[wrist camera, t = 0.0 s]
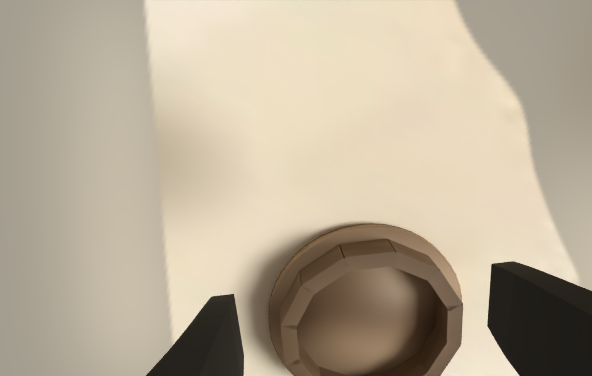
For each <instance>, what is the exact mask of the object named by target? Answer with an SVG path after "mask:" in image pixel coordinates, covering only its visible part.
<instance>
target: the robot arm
mask: <svg viewBox="0 0 592 376" xmlns="http://www.w3.org/2000/svg"><path fill="white" fill-rule="evenodd" d="M487 326H488V328H489V329H490V331H491V333H492V335H493V336H494V338H495V340H496V342H497V344H498V345H499V347H500V348H501V350H502V352H503V353H504V355H505V356H506V358H507V359H508V361H509V362H510V363H511V365H512V366H513V367H514V369H515V370H516V371H517V373H518V374H519V375H520V376H592V291H590V290H587V289H585V288H583V287H580V286H577V285H575V284H573V283H570V282H568V281H565V280H563V279H560V278H558V277H555V276H553V275H550V274H548V273H545V272H542V271H540V270H537V269H535V268H532V267H529V266H526V265H523V264H520V263H517V262H504V263H495V264H492V266H491V281H490V296H489V310H488V325H487ZM243 374H244V353H243V347H242V341H241V335H240V329H239V323H238V316H237V310H236V304H235V298H234V294H230V295H221V296H213V297H211V298H210V299H209V300H208V302H207V303H206V304H205V305H204V307H203V308H202V309H201V311H200V312H199V313H198V315H197V316H196V317H195V319H194V320H193V321H192V322H191V324H190V325H189V326H188V328H187V329H186V330H185V331H184V333H183V334H182V335H181V336H180V337H179V339H178V340H177V341H176V342H175V344H174V345H173V346H172V347H171V348H170V350H169V351H168V352H167V353H166V354H165V355H164V356H163V358H162V359H161V360H160V361H159V362H158V363H157V364H156V365H155V366H154V367H153V369H152V370H151V371H150V372H149V373H148V374H147V375H146V376H243Z"/></svg>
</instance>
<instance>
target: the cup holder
mask: <svg viewBox="0 0 592 376" xmlns="http://www.w3.org/2000/svg"><path fill="white" fill-rule="evenodd" d="M462 316H463V303H462V295H461V290H460V285H459V282H458V279H457V277H456V274H455V272H454V271H453V269H452V267H451V265H450V264H449V263H448V261H447V260H446V259H445V257H444V256H443V255H442V254H441V253H440V252H439V251H438V250H437V249H436V248H435V247H434V246H433V245H432V244H431V243H429V242H428V241H427V240H425V239H424V238H422V237H421V236H419V235H417V234H415V233H413V232H411V231H408V230H405V229H402V228H399V227H395V226H390V225H382V224H361V225H355V226H349V227H345V228H341V229H338V230H335V231H332V232H330V233H328V234H325V235H323V236H321V237H319V238H317V239H316V240H314V241H312V242H311V243H309V244H308V245H307V246H305V247H304V248H303V249H301V250H300V251H299V252H298V253H297V254H296V255H295V256H294V257H293V258H292V259H291V260H290V261H289V263H288V264H287V265H286V266H285V268H284V269H283V271H282V272H281V274H280V276H279V277H278V279H277V281H276V284H275V286H274V289H273V291H272V295H271V299H270V306H269V329H270V334H271V339H272V342H273V345H274V347H275V350H276V352H277V353H278V355H279V357H280V359H281V360H282V361H283V363H284V364H285V366H286V368H287V369H288V370H289V371H290V372H291V373H292V374H293V375H294V376H440V375H441V374H442V372H443V371H444V369H445V368H446V366H447V365H448V363H449V362H450V361H451V359H452V358H453V356H454V355H455V353H456V352H457V350H458V349H459V347H460V346H461V345H460V344H461V338H462Z"/></svg>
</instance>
